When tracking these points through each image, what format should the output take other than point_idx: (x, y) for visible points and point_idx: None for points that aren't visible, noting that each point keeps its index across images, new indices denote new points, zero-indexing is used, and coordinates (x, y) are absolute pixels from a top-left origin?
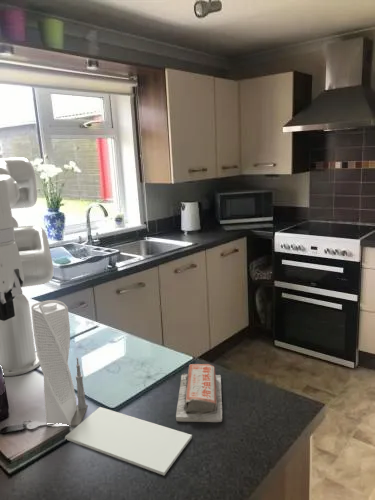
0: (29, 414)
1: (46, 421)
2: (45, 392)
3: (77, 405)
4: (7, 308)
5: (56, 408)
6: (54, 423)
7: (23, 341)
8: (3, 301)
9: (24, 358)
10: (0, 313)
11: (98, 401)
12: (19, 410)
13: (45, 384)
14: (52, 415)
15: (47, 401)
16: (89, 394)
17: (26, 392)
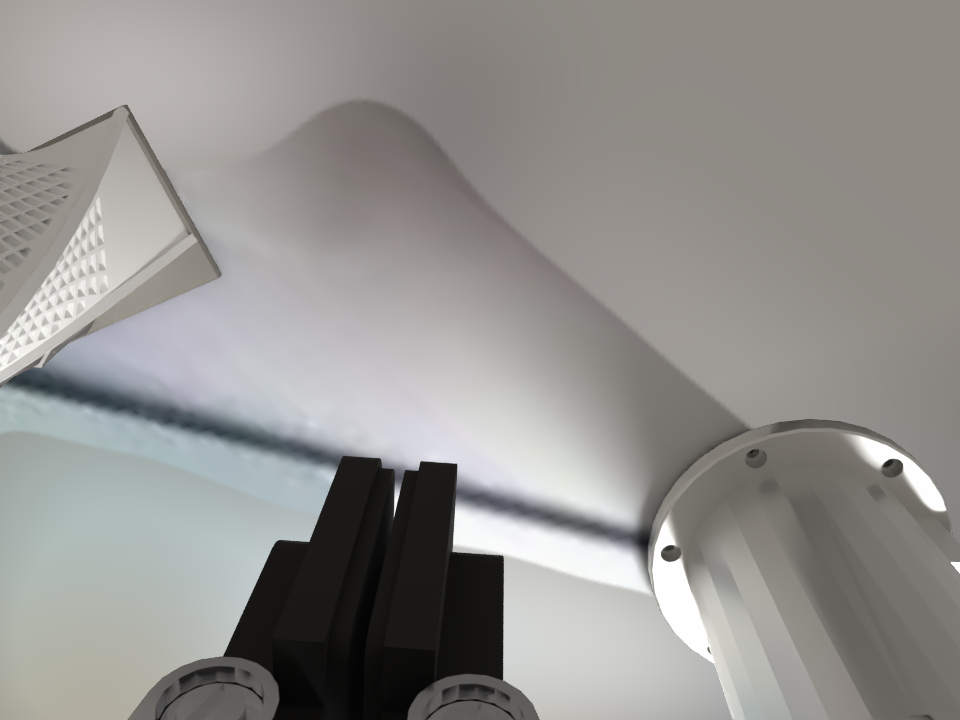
0: (316, 166)
1: (117, 116)
2: (80, 193)
3: (112, 320)
4: (245, 631)
5: (14, 155)
6: (82, 131)
7: (738, 650)
8: (189, 703)
9: (711, 561)
10: (356, 515)
11: (58, 398)
12: (404, 176)
13: (58, 217)
14: (75, 142)
15: (77, 167)
16: (152, 434)
17: (509, 334)
